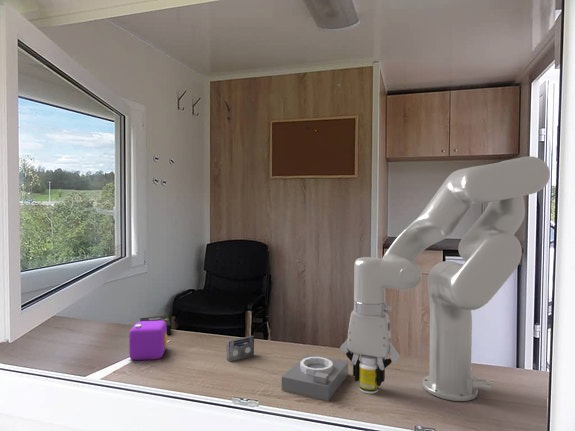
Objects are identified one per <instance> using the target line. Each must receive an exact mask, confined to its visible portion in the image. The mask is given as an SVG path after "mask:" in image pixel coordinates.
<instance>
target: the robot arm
mask: <svg viewBox="0 0 575 431" xmlns="http://www.w3.org/2000/svg"><path fill="white" fill-rule="evenodd" d="M550 179H551V172H550V167H549V166H548V164H547V163H546V162H545V161H544V160H543V159H541V158H539V157H536V156H530V155H529V156H528V155H527V156H522V157H518V158H517V157H516V158H512V159H507V160H503V161H500V162H499V161H498V162H495V163H489V164H483V165H477V166H476V165H475V166H472V167H471V166H469V167H465V168H461V169H458V170H455V171H452V173H450V174H449V175H448V176H447V177H446V179H445V180H444V182H442V184H441V186H440V187H439V188H438V190H437V191H436V193H435V194H434V196H433V197H432V198H431V199H430V201H429V202H428V203H427V205H426V206H425V208H424V209H423V210H422V212H421V213H420V214H419V215H418V217H417V218H415V220H413V221H412V222H411V223H410V224H409V225H408V226H407V227H406V228H405V229H404V230H403V231H402V232H401V233H400V234H399V235H398V236H397V237H396V238H395V240H394V241H393V242H392V244H391V245H389V247H388V249H387V250H386V252H385V253H384V255H383V256H382V258H379V257H374V256H373V257H371V256H363V257H362V256H361V257H359V258H357V259H355V261H354V265H353V266H354V268H353V272H354V273H353V274H354V275H353V310H351V312H350V317H349V323H348V330H347V338H346V339H345V341H344V342H343V343H342V344H341V345H340V347H339V350H341V352H342V353H343V354H345V355H346V357H347V358H348V359H349V360H350V361H349V362H351V365H352V376H353V377H354V382H359V364H360V362H361V355H367V356H373V357H377V364H378V366H379V367H378V369H377V385H378V387H381V385H382V383H385V380H386V378H385V377H386V373H385V372H386V371H385V369H386V368H387V367H389V366H390V365H391V364H392V363H394V362H396V361H397V360H399V359H400V357H401V356H400V354H399V352H398V351H397V349H396V348H395V346H394V345H393V344H392V330H391V329H392V328H391V321H390V316H389V314H388V313H387V312H391V311H392V305H388V304H387V302H386V289H393V290H397V291H410V290H413V289H415V288H416V287H418V285H419V284H420V283H421V282H422V278H423V277H422V275H423V274H422V270H421V268H420V266H419V265H418V264H417V263H416V262H415V261H416V259H417V258H418V257H419V256H420V255H421V254H422V252H424V251H425V250H427V248H429V247H431V246H432V245H435V244H436V243H440V242H441V241H444V240H445V239H447V238H448V237H450V236H451V234H453V233H454V231H455V230H456V228H457V227H458V226H459V224H460V222H462V220H463V218H464V217H465V216H466V215H467V213H468V211H470V209H471V208H472V206H473V205H474V204H485V203H486V204H487V206H486V208H485V210H483V212H482V214H481V215H480V217H478V219H477V220H476V221H475V222H474V223H473V225H472V226H471V227H470V228H469V230H468V231H467V232H466V233H465V234H464V236H463V237H462V238H461V239H460V241H459V244H458V248H457V249H458V254H459V256H460V258H461V259H462V260H463V261H464V263H463V264H462V263H459V262H457V261H453V260H452V261H450V260H444V261H441V262H438V263H436V264H435V265H434V266H433V267H432V268H431V269H430V271H429V272H428V277H427V291H428V300H429V313H430V314H429V317H430V318H429V364H428V365H429V371H428V372H429V374H428V375H426V376H424V377H423V379H422V387H423V389H424V390H426V392H428V393H429V394H431V395H433V396H435V397H437V398H440V399H443V400H447V401H454V402H467V401H472V400H474V399H476V398H477V397H478V394H479V390H483V391H485V392H493V383H492V382H487V379H486V378H481V377H480V378H479V377H476V375H473V370H472V342H473V340H472V339H473V338H472V337H473V336H472V335H473V332H472V331H473V317H472V311H475V310H479V309H481V308H482V307H484V306H486V305H487V304H488V303H489V302H490V301H491V300H492V299H493V297H495V295H496V294H497V293H498V292H499V291H500V289H501V288H502V287H503V286H504V285H505V283H507V281H508V279H509V278H510V277H511V276H512V275H513V273H514V272H515V271H516V269H517V268H518V266H519V265H520V262H521V259H522V255H523V251H522V250H523V249H522V246H521V245H522V244H521V243H520V240H519V239H518V238H517V237H516V236H515V234H516V232H517V231H518V230H519V229H520V227H521V225H522V223H523V222H524V218H525V215H526V206H525V205H526V204H525V199H524V196H529V195H534V194H536V193H538V192H540V191H542V189H544V188H545V187H546V186H547V184H548V183H549V180H550ZM389 353H390V356H389ZM388 356H389V357H388Z"/></svg>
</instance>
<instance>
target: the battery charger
mask: <svg viewBox="0 0 575 431" xmlns="http://www.w3.org/2000/svg"><path fill="white" fill-rule="evenodd" d="M141 321H165V322H166V325H167V336H168V337H169V336H171V335H172V325H171V322H170V320H169V317H168V316H167V315H160V316H159V315H158V316H150V317H140V319H139V322H141Z"/></svg>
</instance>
